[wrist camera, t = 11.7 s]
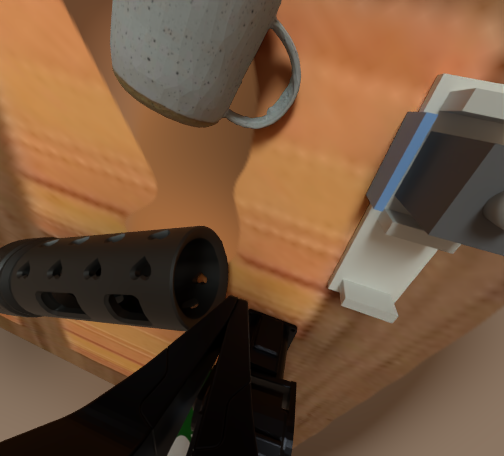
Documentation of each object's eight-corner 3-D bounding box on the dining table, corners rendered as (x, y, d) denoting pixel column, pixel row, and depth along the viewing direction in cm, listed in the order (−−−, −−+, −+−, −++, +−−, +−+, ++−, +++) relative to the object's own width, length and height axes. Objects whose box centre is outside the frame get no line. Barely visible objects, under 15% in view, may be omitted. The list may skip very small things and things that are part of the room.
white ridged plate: (387, 303, 22) (397, 331, 19) (322, 281, 22) (322, 305, 20) (549, 96, 12) (617, 92, 9) (427, 73, 13) (455, 63, 10)
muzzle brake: (239, 277, 26) (197, 363, 17) (82, 276, 35) (3, 331, 26) (216, 202, 22) (146, 265, 13) (46, 224, 31) (-61, 269, 22)
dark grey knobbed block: (452, 210, 16) (536, 275, 9) (394, 195, 16) (439, 247, 10) (500, 145, 13) (654, 176, 7) (431, 130, 14) (518, 147, 8)
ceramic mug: (157, 78, 18) (64, 62, 11) (190, -64, 13) (68, -227, 7) (264, 152, 18) (236, 177, 12) (331, 40, 14) (343, -18, 7)
